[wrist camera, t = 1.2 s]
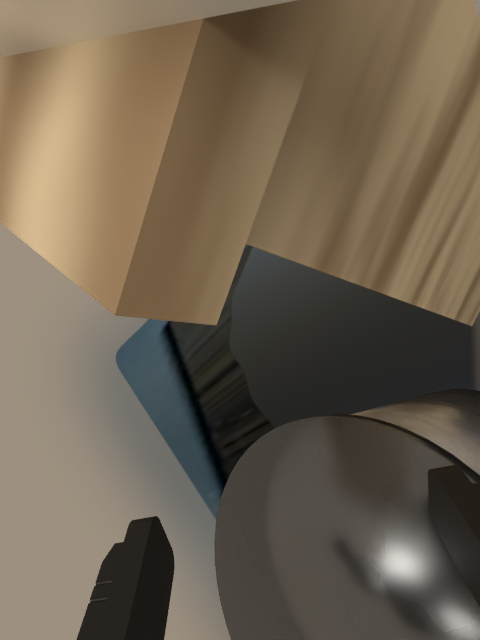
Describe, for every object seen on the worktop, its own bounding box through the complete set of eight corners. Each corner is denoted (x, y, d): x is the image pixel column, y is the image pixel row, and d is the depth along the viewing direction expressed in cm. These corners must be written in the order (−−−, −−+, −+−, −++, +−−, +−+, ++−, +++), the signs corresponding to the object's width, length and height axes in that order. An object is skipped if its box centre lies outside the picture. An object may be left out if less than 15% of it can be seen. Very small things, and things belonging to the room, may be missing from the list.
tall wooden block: (561, 201, 27) (560, -1179, 3) (483, 351, 29) (115, 315, 5) (403, 176, 34) (30, -252, 10) (351, 297, 37) (-51, 181, 13)
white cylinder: (407, 365, 33) (249, 371, 16) (601, 422, 25) (682, 552, 8) (371, 498, 34) (190, 631, 17) (546, 595, 26) (517, 1022, 9)
